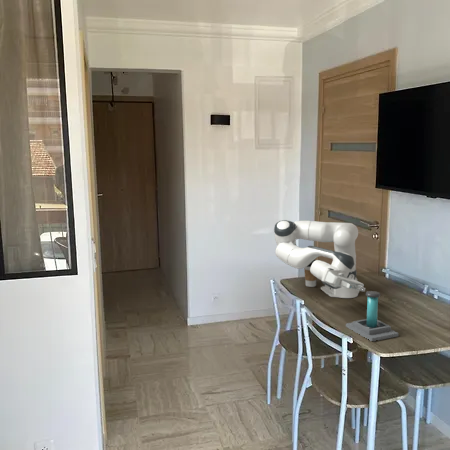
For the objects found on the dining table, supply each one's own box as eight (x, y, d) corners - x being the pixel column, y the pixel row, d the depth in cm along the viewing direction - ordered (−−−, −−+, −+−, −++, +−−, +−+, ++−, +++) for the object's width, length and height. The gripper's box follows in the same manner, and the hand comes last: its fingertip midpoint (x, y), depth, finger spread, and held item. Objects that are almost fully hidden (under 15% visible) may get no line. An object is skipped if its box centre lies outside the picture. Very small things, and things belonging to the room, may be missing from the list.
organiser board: (345, 326, 213) (346, 319, 212) (371, 322, 218) (371, 314, 217) (371, 341, 196) (371, 333, 196) (398, 336, 201) (398, 328, 201)
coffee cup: (314, 288, 270) (315, 263, 268) (301, 286, 274) (301, 261, 272) (320, 284, 277) (320, 259, 275) (306, 282, 281) (307, 258, 279)
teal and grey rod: (361, 326, 209) (363, 292, 206) (372, 324, 211) (374, 290, 208) (370, 331, 203) (371, 295, 200) (381, 329, 205) (383, 294, 203)
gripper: (348, 287, 227) (369, 298, 216) (318, 279, 216) (339, 291, 204) (352, 275, 227) (374, 285, 215) (323, 267, 215) (345, 277, 204)
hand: (357, 288), depth 210 cm, fingers open, 8 cm apart
